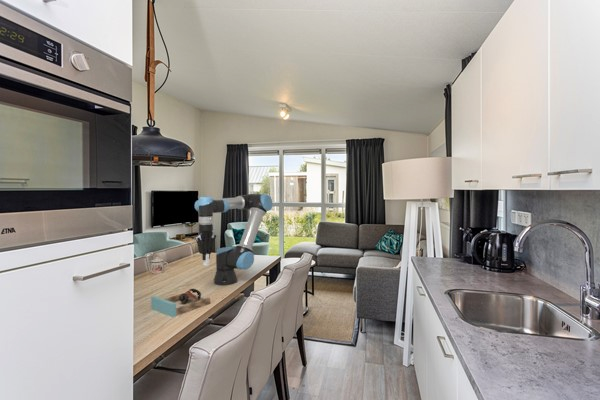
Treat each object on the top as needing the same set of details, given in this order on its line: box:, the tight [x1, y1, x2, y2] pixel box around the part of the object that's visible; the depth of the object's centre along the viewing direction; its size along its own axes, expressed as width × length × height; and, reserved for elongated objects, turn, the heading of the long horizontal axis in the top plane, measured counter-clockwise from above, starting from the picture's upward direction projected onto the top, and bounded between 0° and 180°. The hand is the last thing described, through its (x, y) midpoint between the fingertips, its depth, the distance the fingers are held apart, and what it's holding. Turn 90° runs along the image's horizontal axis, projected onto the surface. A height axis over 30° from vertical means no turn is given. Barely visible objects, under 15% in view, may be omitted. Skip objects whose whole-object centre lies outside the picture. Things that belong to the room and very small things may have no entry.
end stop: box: [150, 295, 177, 318], centre depth 151 cm, size 2×19×6 cm, turn 55°
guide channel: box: [164, 292, 211, 317], centre depth 160 cm, size 20×19×3 cm
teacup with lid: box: [150, 256, 169, 275], centre depth 229 cm, size 12×9×12 cm
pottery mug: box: [178, 288, 202, 304], centre depth 164 cm, size 12×10×8 cm
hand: (206, 265), depth 172 cm, fingers closed
